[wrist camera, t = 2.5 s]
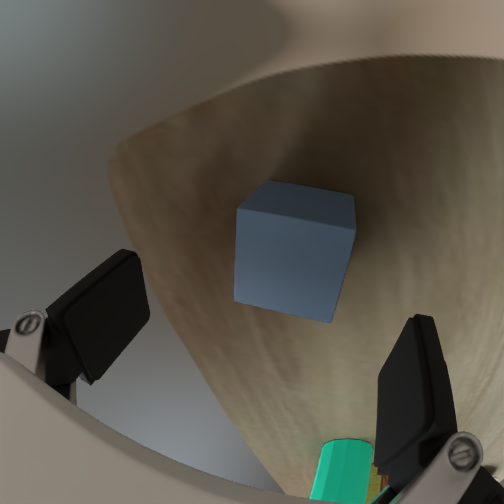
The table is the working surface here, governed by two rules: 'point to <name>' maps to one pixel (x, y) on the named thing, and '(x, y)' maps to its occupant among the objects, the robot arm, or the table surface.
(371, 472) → the candy box
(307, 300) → the block
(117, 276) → the robot arm
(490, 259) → the table surface
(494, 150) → the table surface
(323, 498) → the candle
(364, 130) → the table surface
